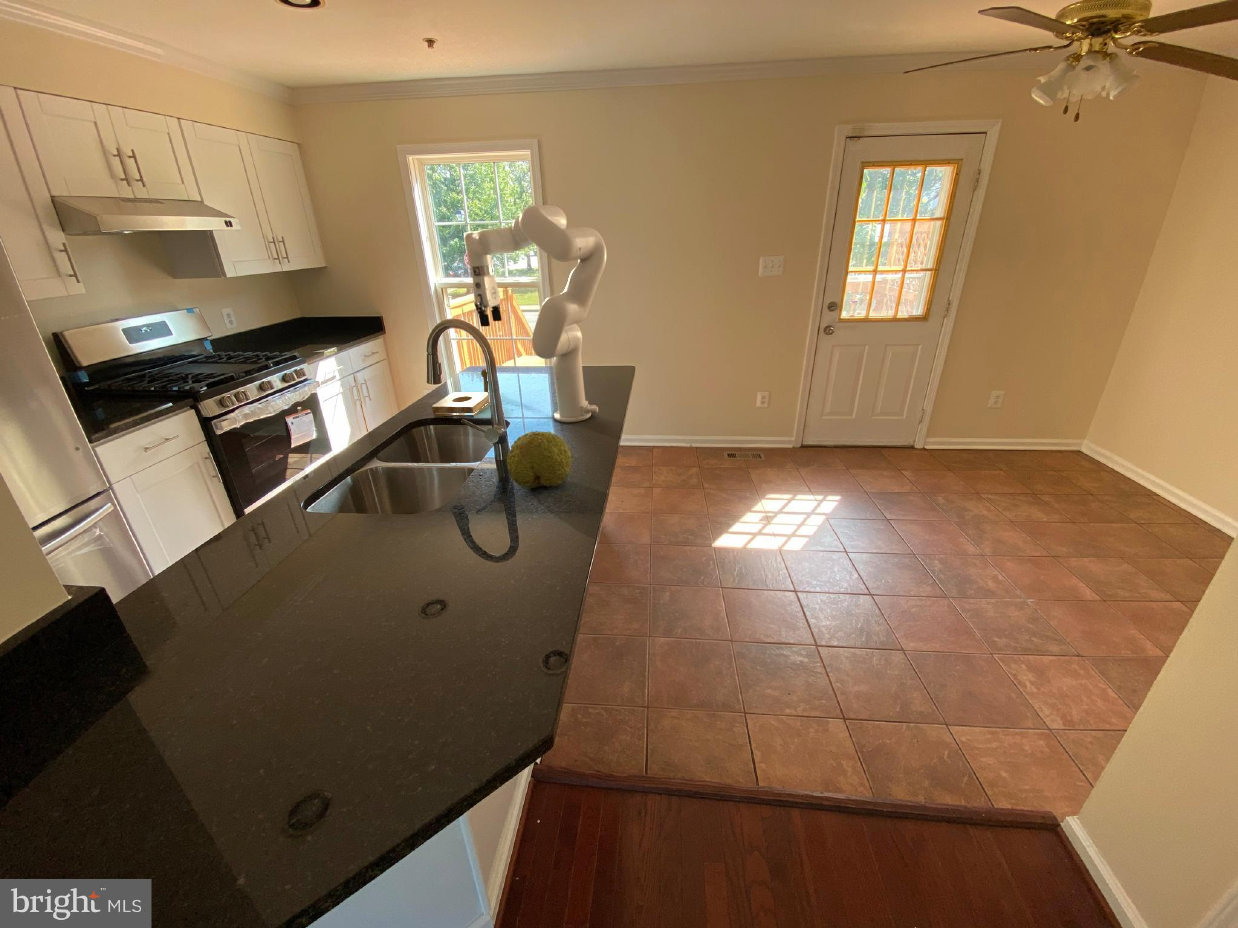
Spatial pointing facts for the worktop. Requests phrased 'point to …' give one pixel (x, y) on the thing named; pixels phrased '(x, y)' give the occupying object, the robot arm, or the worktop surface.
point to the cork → (485, 380)
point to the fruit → (539, 460)
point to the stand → (462, 403)
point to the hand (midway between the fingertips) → (491, 323)
